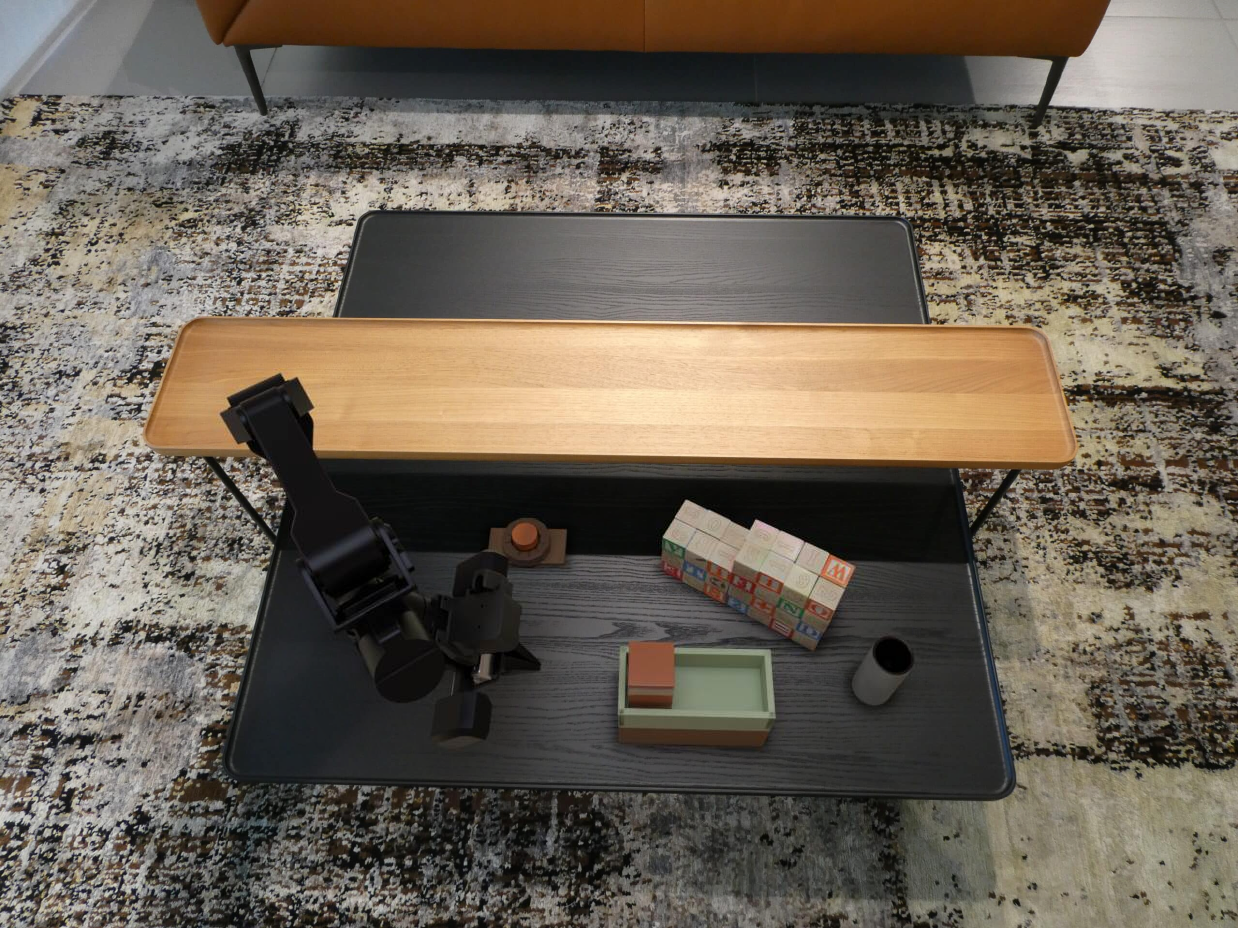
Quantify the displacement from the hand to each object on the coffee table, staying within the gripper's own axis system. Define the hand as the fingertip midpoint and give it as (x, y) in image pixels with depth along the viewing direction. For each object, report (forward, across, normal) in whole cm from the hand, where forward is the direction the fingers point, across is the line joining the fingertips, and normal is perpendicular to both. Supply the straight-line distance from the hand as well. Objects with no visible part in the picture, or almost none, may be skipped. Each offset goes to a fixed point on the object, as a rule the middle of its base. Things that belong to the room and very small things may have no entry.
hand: (538, 667), depth 86 cm
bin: (+21, 0, -2) cm, 21 cm away
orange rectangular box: (+13, 0, -3) cm, 13 cm away
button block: (+6, +21, +13) cm, 25 cm away
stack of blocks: (+26, +16, -7) cm, 31 cm away
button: (+5, +21, +11) cm, 24 cm away
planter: (+36, +4, -17) cm, 40 cm away
